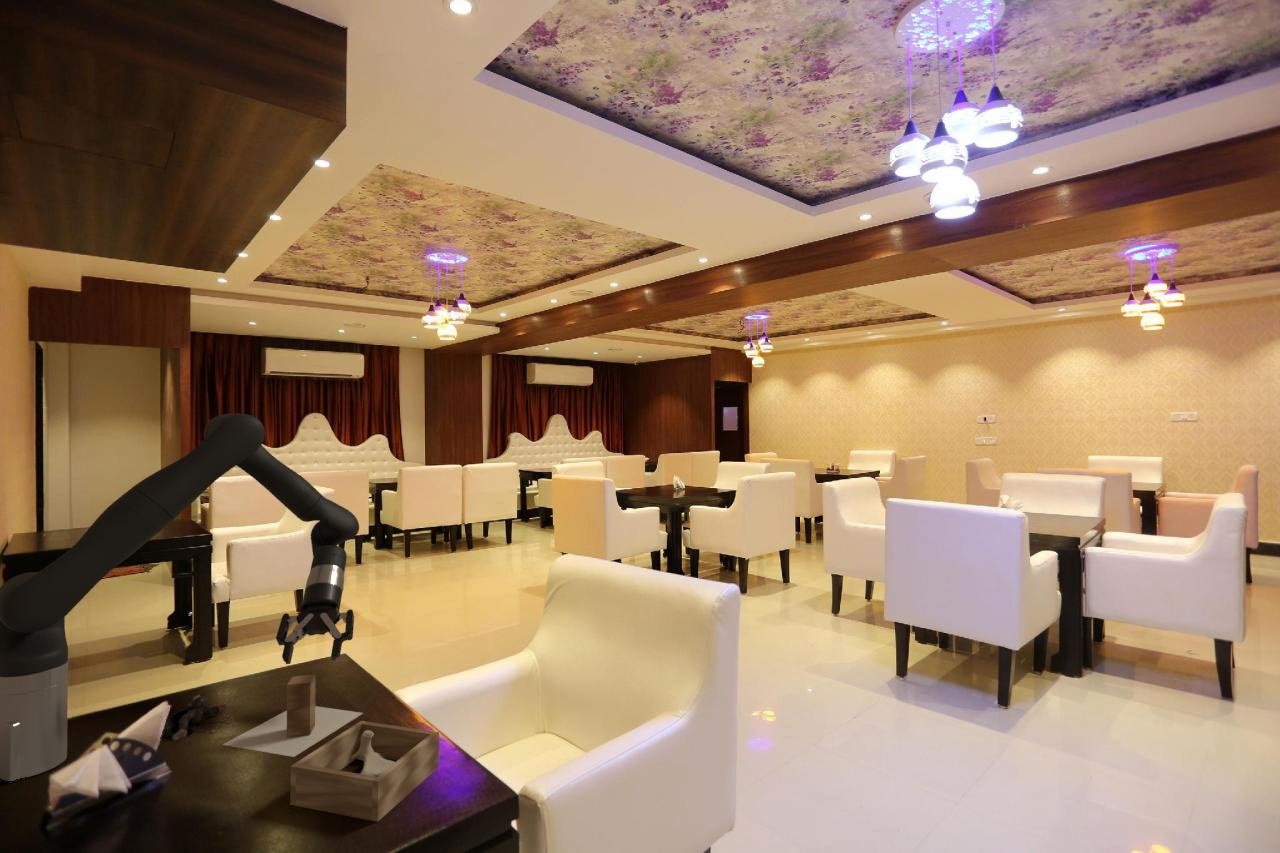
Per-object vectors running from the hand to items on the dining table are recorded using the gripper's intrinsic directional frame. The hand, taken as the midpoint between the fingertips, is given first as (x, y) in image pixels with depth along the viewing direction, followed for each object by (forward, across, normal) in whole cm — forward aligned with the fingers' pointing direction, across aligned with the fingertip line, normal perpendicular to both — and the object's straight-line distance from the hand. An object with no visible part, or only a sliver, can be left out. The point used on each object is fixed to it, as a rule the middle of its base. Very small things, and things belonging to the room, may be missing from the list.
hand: (310, 660), depth 128 cm
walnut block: (+13, 0, +3) cm, 13 cm away
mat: (+12, -1, +4) cm, 13 cm away
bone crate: (+29, +15, -12) cm, 35 cm away
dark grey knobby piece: (+7, -21, +11) cm, 25 cm away
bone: (+29, +17, -12) cm, 35 cm away
